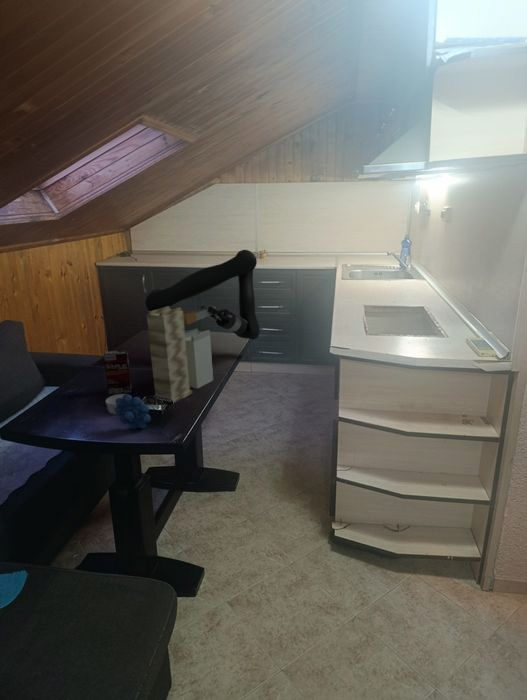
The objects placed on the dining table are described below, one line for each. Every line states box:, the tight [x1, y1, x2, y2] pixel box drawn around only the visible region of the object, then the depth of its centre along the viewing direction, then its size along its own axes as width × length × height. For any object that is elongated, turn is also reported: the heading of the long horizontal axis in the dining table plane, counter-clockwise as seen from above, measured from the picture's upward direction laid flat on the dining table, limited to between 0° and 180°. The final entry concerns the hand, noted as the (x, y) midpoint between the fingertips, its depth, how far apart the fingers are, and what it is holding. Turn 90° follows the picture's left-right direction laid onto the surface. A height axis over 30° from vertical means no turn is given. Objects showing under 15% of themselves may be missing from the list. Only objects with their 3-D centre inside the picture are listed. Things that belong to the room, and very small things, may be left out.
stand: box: [146, 306, 193, 404], centre depth 171 cm, size 11×10×33 cm
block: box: [183, 305, 217, 325], centre depth 181 cm, size 18×4×4 cm, turn 149°
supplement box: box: [103, 349, 133, 395], centre depth 180 cm, size 9×5×16 cm, turn 101°
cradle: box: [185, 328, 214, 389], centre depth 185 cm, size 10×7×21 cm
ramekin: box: [105, 393, 132, 415], centre depth 165 cm, size 9×9×4 cm
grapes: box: [114, 393, 152, 430], centre depth 148 cm, size 12×7×12 cm, turn 83°
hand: (205, 308), depth 184 cm, fingers closed on block, 3 cm apart
